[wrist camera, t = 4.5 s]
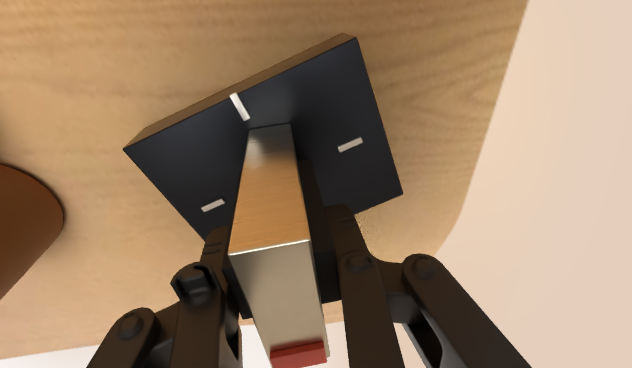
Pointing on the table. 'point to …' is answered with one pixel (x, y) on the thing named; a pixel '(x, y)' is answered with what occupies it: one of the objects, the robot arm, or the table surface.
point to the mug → (24, 224)
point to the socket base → (271, 110)
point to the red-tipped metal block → (277, 252)
